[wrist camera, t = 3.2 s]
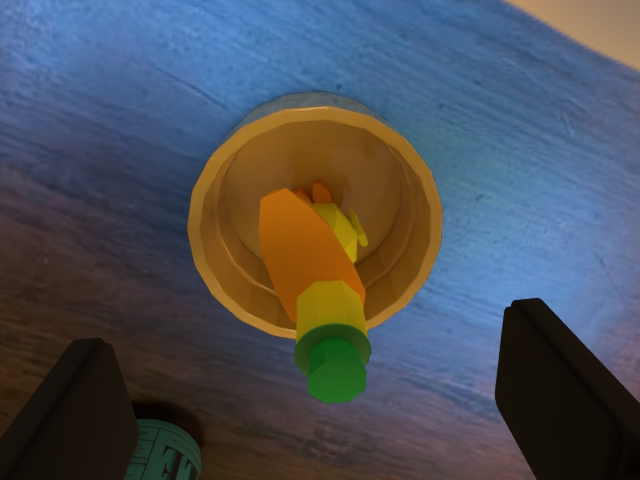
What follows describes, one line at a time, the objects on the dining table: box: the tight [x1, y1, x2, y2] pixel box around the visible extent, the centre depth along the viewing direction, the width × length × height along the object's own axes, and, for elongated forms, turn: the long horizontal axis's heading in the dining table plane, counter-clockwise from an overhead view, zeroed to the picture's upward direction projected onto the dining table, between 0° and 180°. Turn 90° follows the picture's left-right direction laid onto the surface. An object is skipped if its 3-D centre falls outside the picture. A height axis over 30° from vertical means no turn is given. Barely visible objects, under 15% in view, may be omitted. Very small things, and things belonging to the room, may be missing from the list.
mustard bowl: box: [187, 91, 443, 340], centre depth 20 cm, size 10×10×5 cm
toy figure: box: [259, 180, 371, 403], centre depth 16 cm, size 7×4×12 cm, turn 23°
